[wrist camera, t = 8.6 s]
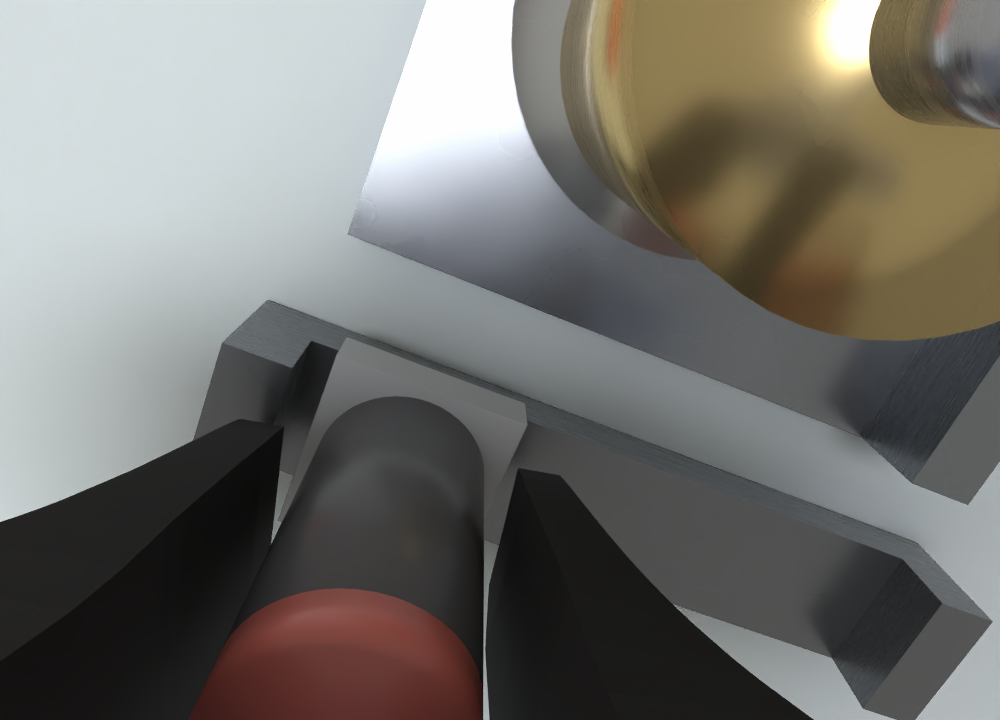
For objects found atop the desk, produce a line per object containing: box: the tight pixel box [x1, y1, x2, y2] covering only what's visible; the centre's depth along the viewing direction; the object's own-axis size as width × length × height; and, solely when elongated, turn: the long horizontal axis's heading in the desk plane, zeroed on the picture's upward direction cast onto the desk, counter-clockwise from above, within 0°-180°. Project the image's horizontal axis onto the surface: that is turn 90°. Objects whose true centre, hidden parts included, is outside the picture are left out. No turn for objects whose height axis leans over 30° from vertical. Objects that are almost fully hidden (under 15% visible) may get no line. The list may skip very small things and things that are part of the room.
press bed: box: [348, 0, 1000, 505], centre depth 10 cm, size 10×10×2 cm
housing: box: [560, 0, 1000, 341], centre depth 7 cm, size 4×4×6 cm
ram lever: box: [189, 337, 527, 720], centre depth 9 cm, size 3×3×6 cm
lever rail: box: [193, 300, 993, 720], centre depth 12 cm, size 13×2×2 cm, turn 68°
